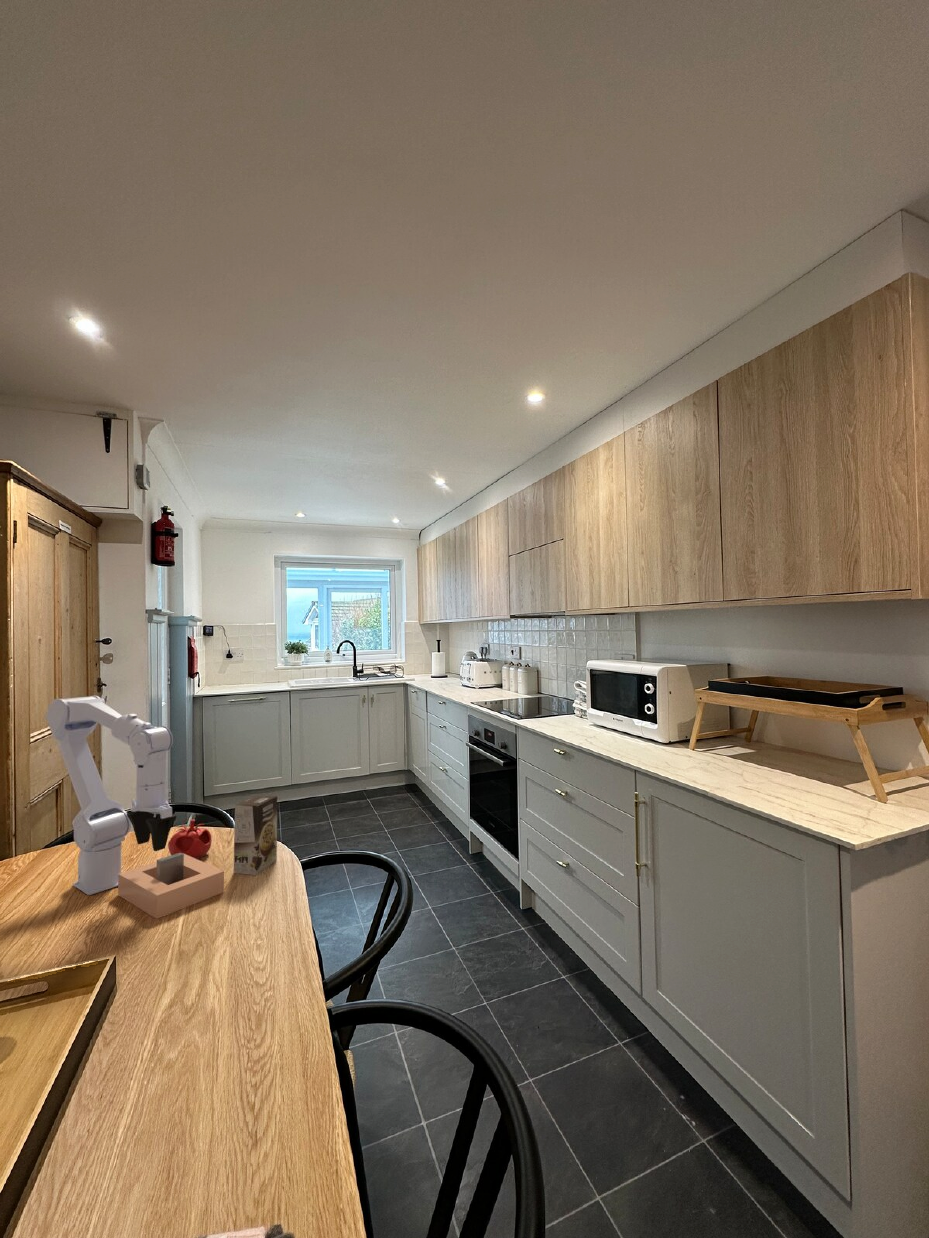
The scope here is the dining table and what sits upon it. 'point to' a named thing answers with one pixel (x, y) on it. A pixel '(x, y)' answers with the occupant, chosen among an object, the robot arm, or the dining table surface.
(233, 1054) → the dining table surface
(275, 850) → the coffee box
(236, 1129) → the dining table surface
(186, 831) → the red tomato holder
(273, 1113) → the dining table surface
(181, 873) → the brushed metal prism
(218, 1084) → the dining table surface
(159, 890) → the holder block
